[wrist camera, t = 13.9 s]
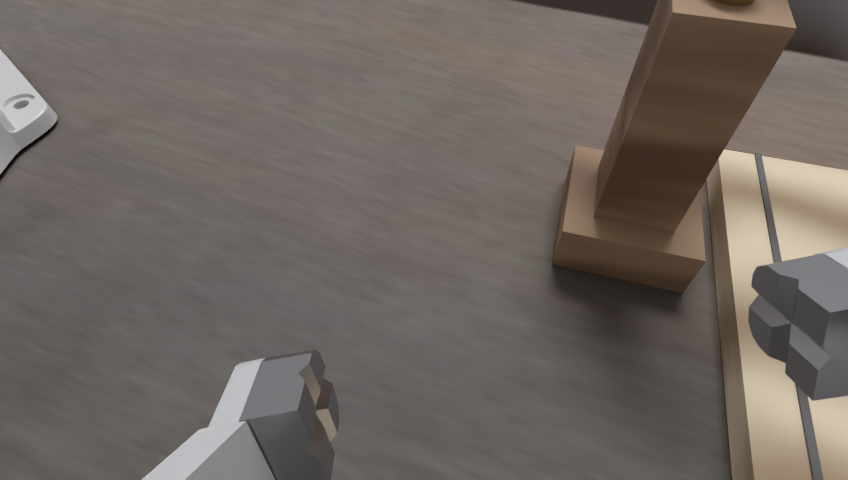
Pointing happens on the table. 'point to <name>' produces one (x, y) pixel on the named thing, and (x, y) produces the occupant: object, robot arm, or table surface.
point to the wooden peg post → (668, 141)
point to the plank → (734, 266)
